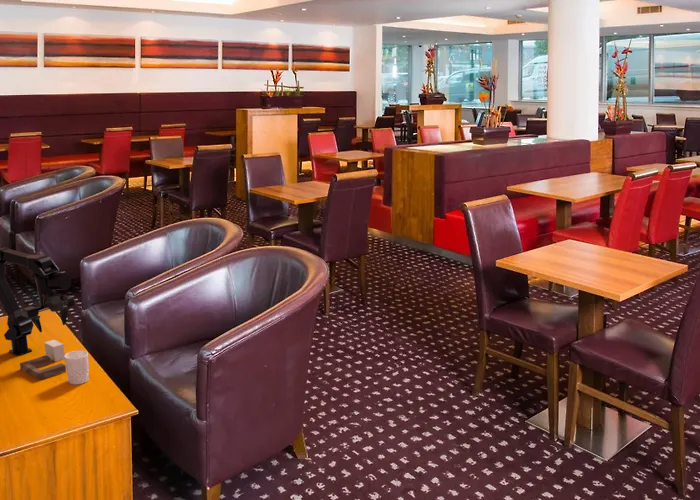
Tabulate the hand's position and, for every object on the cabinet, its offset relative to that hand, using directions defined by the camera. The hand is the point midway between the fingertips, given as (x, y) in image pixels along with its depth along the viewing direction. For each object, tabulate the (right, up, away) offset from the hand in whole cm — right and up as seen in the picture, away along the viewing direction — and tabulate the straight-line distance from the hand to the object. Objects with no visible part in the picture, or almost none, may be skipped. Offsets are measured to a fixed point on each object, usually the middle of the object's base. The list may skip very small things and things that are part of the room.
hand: (52, 328), depth 276 cm
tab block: (0, -12, +4) cm, 12 cm away
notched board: (0, -15, -8) cm, 17 cm away
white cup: (+16, -17, -17) cm, 29 cm away
